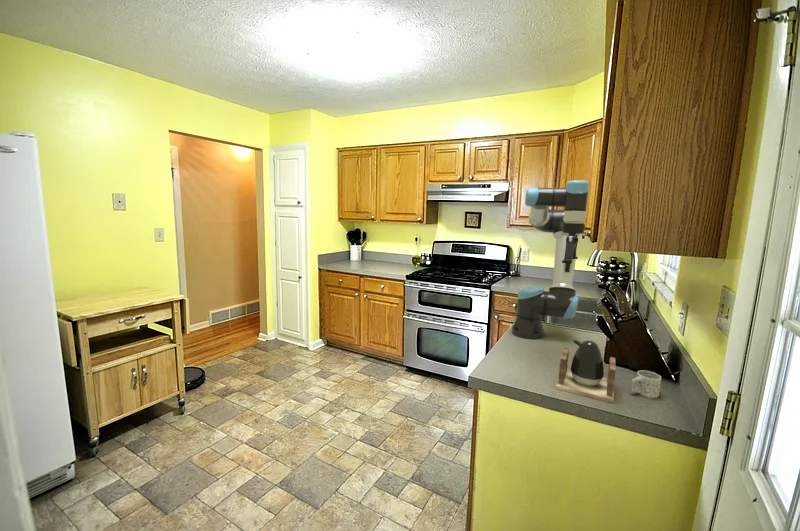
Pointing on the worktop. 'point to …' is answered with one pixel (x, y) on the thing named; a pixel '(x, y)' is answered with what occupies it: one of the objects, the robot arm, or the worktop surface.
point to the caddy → (599, 391)
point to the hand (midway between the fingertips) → (568, 277)
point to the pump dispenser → (587, 364)
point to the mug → (646, 384)
